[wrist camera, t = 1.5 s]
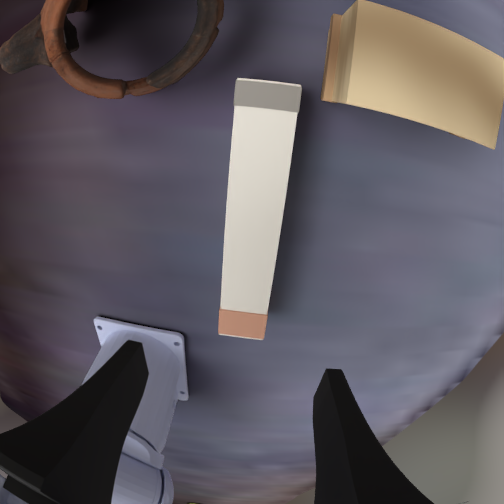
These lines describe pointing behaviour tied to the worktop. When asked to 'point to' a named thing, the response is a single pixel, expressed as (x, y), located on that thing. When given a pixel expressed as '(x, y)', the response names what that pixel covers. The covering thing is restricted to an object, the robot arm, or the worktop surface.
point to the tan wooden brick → (413, 71)
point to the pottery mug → (65, 41)
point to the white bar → (255, 201)
